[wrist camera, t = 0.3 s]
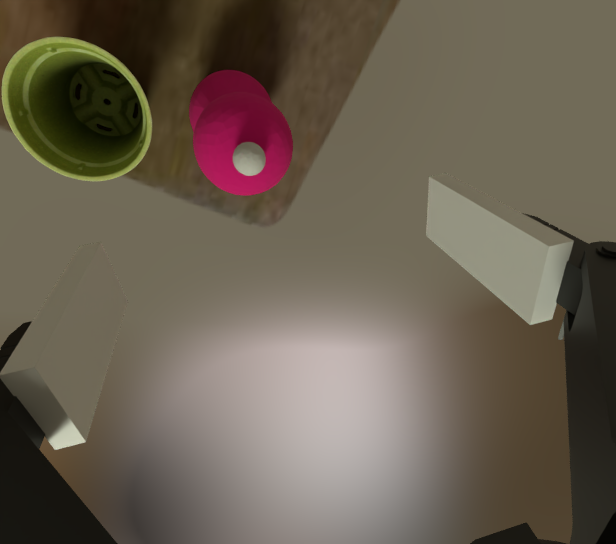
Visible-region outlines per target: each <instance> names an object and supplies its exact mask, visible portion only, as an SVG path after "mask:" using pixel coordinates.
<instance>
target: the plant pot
mask: <svg viewBox="0 0 616 544" xmlns="http://www.w3.org/2000/svg"><path fill="white" fill-rule="evenodd" d="M104 70H107V71H110V72H115V73H117V74H118V75H119V76H120V78H119V79H118V78H116V77H114V76H112V75H108V74H104V73H103V71H104ZM79 83H80V84H81V85H82V86H81V90H80V100H77V98H76V96H75V91H76V86H77V85H78V84H79ZM105 99H108V100H109V101H110V104H109V105H106V104H105V103H104V100H105ZM2 103H3V108H4V112H5V115H6V118H7V120H8V122H9V125H10V127H11V129H12V131H13V132H14V134H15V136H16V137H17V139H18V140H19V141H20V143H21V144H22V145H23V146H24V148H25V149H26V150H27V151H28V152H29V153H30V154H31V155H32V156H33V157H34V158H36V159H37V160H38V161H39V162H41V163H42V164H43V165H45V166H47V167H48V168H50V169H52V170H53V171H55V172H57V173H59V174H62V175H64V176H67V177H71V178H74V179H79V180H84V181H104V180H109V179H113V178H116V177H119V176H121V175H123V174H125V173H127V172H129V171H130V170H132V169H133V168H134V167H135V166H137V165H138V163H139V162H140V161H141V160H142V158H143V157H144V155H145V153H146V151H147V149H148V147H149V144H150V140H151V135H152V117H151V111H150V107H149V104H148V101H147V98H146V96H145V93H144V91H143V89H142V87H141V86H140V84H139V82H138V81H137V79H136V78H135V77H134V75H133V74H132V73H131V72H130V71H129V69H128V68H127V67H126V66H125V65H124V64H123V63H122V62H121V61H119V60H118V59H117V58H116V57H114V56H113V55H111V54H110V53H109V52H107V51H105V50H104V49H102V48H100V47H98V46H96V45H94V44H91V43H89V42H86V41H83V40H79V39H75V38H69V37H47V38H43V39H39V40H36V41H34V42H31V43H29V44H27V45H25V46H24V47H23V48H21V49H20V50H19V51H18V52H17V53H16V54H15V55H14V56H13V57H12V59H11V60H10V61H9V63H8V65H7V67H6V69H5V72H4V76H3V80H2ZM135 103H137V104H138V115H137V117H136V118H133V117H132V116H133V113H134V109H135ZM97 124H99V125H102V126H104V127H107V128H112V129H113V130H112V131H105V130H101V129H100V128H98V127H97Z"/></svg>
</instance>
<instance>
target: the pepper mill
mask: <svg viewBox="0 0 616 544" xmlns="http://www.w3.org/2000/svg"><path fill="white" fill-rule="evenodd" d="M189 117H190V123H191V126H192V129H193V132H194V135H193V146H194V152H195V156H196V159H197V162H198V165H199V166H200V168H201V170H202V172H203V173H204V174H205V176H206V177H207V178H208V179H209V180H210V181H211V182H212V183H213V184H215V185H216V186H217V187H219V188H220V189H222V190H224V191H226V192H228V193H232V194H236V195H254V194H259V193H262V192H264V191H267V190H269V189H270V188H272V187H273V186H275V185H276V184H277V183H278V182H279V181H280V180H281V178H282V177H283V176H284V175H285V173H286V171H287V170H288V168H289V165H290V162H291V159H292V151H293V140H292V135H291V130H290V128H289V125H288V123H287V121H286V119H285V117H284V116H283V114H282V113H281V112H280V111H279V110H278V109H277V107H276V106H275V105H274V104H273V103H272V102H271V99H270V97H269V95H268V93H267V92H266V90H265V88H264V87H263V86H262V85H261V84H260V83H259V82H258V81H257V80H256V79H255V78H253V77H251V76H250V75H248V74H246V73H243V72H241V71H236V70H221V71H218V72H214V73H212V74H210V75H208V76H207V77H206V78H204V79H203V80H202V81H201V82H200V83H199V84H198V85H197V87H196V89H195V90H194V92H193V95H192V97H191V101H190V106H189Z"/></svg>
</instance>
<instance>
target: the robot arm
mask: <svg viewBox="0 0 616 544" xmlns="http://www.w3.org/2000/svg"><path fill="white" fill-rule="evenodd" d="M428 193H429V194H428V212H427V231H426V235H427V237H428V238H430V239H431V240H432V241H433V242H434V243H435V244H437V245H438V246H439V247H440V248H441V249H442V250H443V251H445V252H446V253H447V254H448V255H449V256H451V257H452V258H453V259H454V260H455V261H456V262H458V263H459V264H460V265H461V266H462V267H463V268H464V269H466V270H467V271H468V272H469V273H470V274H472V275H473V276H474V277H475V278H476V279H477V280H479V281H480V282H481V283H482V284H483V285H484V286H485V287H487V288H488V289H489V290H490V291H491V292H493V293H494V294H495V295H496V296H497V297H498V298H499V299H501V300H502V301H503V302H504V303H505V304H507V305H508V306H509V307H510V308H511V309H512V310H514V312H516V313H517V314H518V315H519V316H520V317H521V318H523V319H524V320H525V321H526V322H527V323H529V324H530V325H532V324H536V323H540V322H544V321H547V320H551V319H552V318H553V314H554V311H555V307H556V303H558V304H559V305H561V306H562V307H563V308H565V309H566V314H565V317H564V320H563V324H562V327H561V330H560V334H559V337H558V339H560V340H562V339H563V337H564V341H565V362H566V383H567V403H568V404H567V405H568V427H569V449H570V469H571V490H572V491H571V493H572V515H573V526H572V527H573V528H572V535H571V540H570V544H616V243H614V242H593V243H590V244H588V243H586V242H584V241H582V240H580V239H578V238H576V237H574V236H572V235H571V234H569V233H567V232H565V231H563V230H558V228H557V227H555V226H553V225H549V223H547V222H545V221H543V220H541V219H540V218H538V217H535V216H530V215H527V214H524V213H520V212H519V211H517V210H515V209H513V208H511V207H509V206H507V205H505V204H504V203H502V202H500V201H498V200H496V199H494V198H492V197H490V196H488V195H486V194H485V193H483V192H481V191H479V190H477V189H475V188H473V187H471V186H469V185H467V184H466V183H464V182H462V181H460V180H458V179H456V178H454V177H452V176H451V175H449V174H447V173H445V174H440V175H434V176H430V177H429V192H428ZM127 303H128V300H127V298H126V296H125V293H124V291H123V289H122V287H121V285H120V282H119V280H118V278H117V276H116V274H115V271H114V269H113V267H112V265H111V262H110V260H109V258H108V256H107V254H106V251H105V249H104V247H103V245H102V243H101V242H97V243H92V244H87V245H82V246H79V247H78V249H77V251H76V252H75V254H74V255H73V257H72V259H71V260H70V262H69V263H68V265H67V267H66V268H65V270H64V271H63V273H62V275H61V276H60V278H59V280H58V281H57V283H56V284H55V286H54V287H53V289H52V291H51V292H50V294H49V296H48V297H47V299H46V300H45V302H44V303H43V305H42V307H41V308H40V310H39V311H38V313H37V315H36V316H35V318H34V319H33V321H32V322H27V323H23V324H22V325H21V326H20V327H18V328H17V329H16V330H15V331H14V332H13V333H11V334H10V335H9V337H8V338H7V340H6V341H5V342H4V344H3V345H2V347H1V350H0V544H117V543H116V542H115V540H114V539H113V538H112V537H111V535H109V533H108V532H107V531H106V530H105V528H104V527H103V526H102V525H101V524H100V522H99V521H98V520H97V519H96V517H95V516H94V515H93V514H92V513H91V511H90V510H89V509H88V508H87V507H86V505H85V504H84V503H83V502H82V501H81V499H80V498H79V497H78V496H77V495H76V493H75V492H74V491H73V490H72V489H71V487H70V486H69V485H68V484H67V483H66V481H65V480H64V479H63V478H62V476H60V474H59V473H58V472H57V470H56V469H55V468H54V467H53V466H52V464H51V463H50V462H49V461H48V460H47V458H46V457H45V456H44V455H43V454H42V452H41V451H40V450H39V448H40V446H41V443H42V441H43V438H44V436H45V437H46V438H47V440H48V441H49V442H50V444H51V445H52V446H53V448H54V449H55V450H57V449H61V448H64V447H68V446H72V445H76V444H80V443H83V442H86V440H87V436H88V433H89V430H90V427H91V423H92V420H93V417H94V413H95V410H96V407H97V403H98V400H99V397H100V393H101V390H102V387H103V383H104V380H105V377H106V373H107V370H108V367H109V363H110V360H111V357H112V353H113V350H114V346H115V343H116V340H117V337H118V333H119V330H120V327H121V323H122V320H123V317H124V313H125V310H126V307H127ZM470 544H566V543H561V542H557V541H550V540H543V539H542V540H541V539H537V537H536V536H535V534H534V533H533V532H532V530H531V528H530V527H529V525H528V524H527V523H523V524H521V525H517V526H514V527H511V528H509V529H506V530H503V531H500V532H497V533H494V534H491V535H488V536H485V537H482V538H479V539H476V540H474V541H473V542H472V543H470Z"/></svg>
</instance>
